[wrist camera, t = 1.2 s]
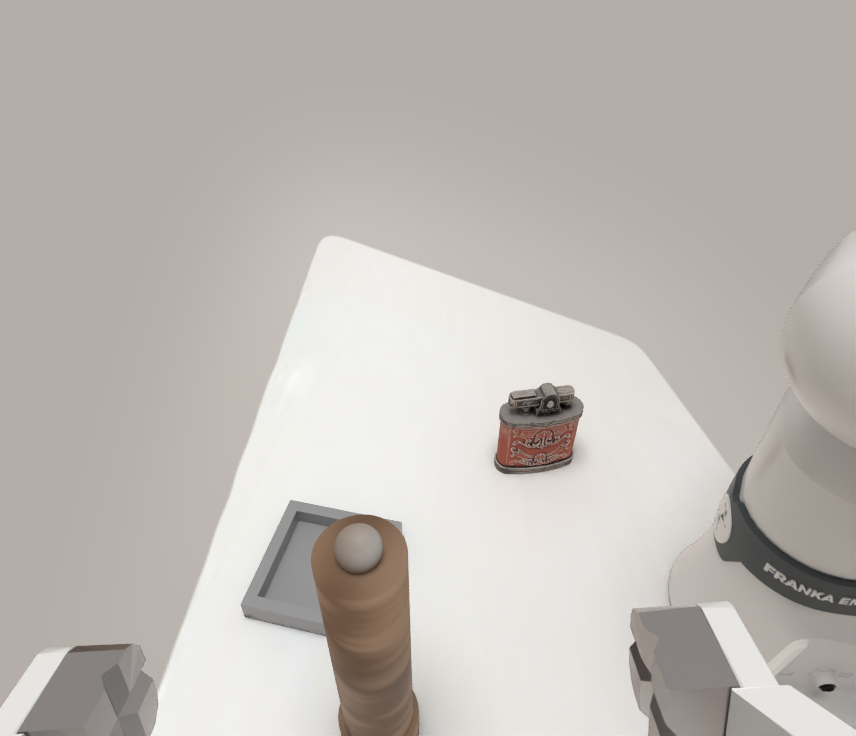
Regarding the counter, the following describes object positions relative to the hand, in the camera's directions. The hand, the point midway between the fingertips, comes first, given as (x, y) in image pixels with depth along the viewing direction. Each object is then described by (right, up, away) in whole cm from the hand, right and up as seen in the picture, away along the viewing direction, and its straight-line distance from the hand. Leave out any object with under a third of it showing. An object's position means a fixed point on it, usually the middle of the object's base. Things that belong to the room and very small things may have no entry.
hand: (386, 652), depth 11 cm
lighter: (+11, -5, +56) cm, 58 cm away
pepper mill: (-3, -22, +37) cm, 43 cm away
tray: (-8, -13, +46) cm, 49 cm away
